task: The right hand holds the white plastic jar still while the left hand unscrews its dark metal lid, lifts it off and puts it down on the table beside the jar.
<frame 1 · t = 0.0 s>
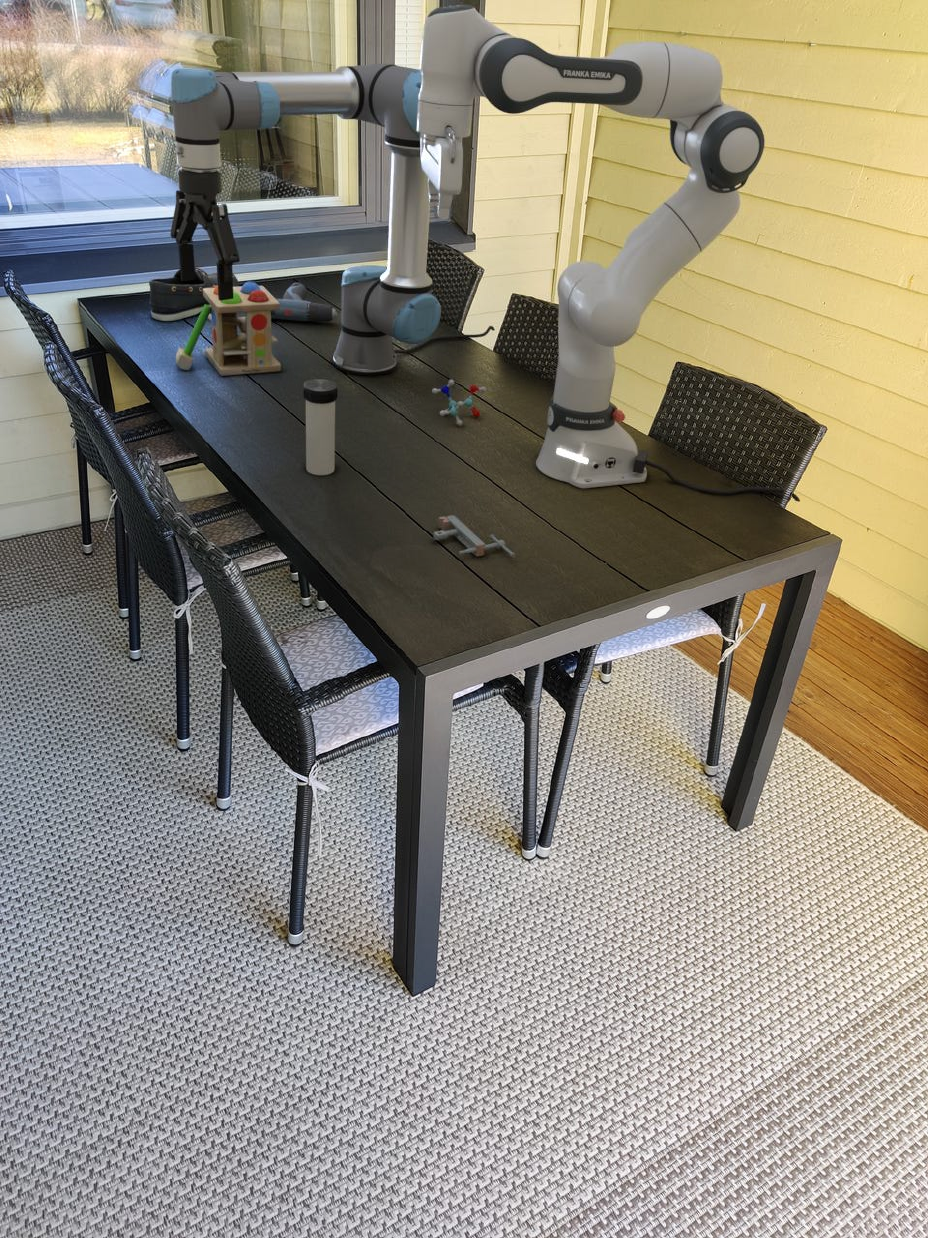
left hand: (206, 289, 186), 28 cm above the table, tool pointing down, fingers open, 13 cm apart
right hand: (438, 211, 167), 48 cm above the table, tool pointing down, fingers open, 8 cm apart
clamp: (468, 546, 170), on the table
lid: (320, 386, 180), point 17 cm above the table, screwed on, not yet turned
molecular model: (455, 417, 216), on the table
jar: (320, 469, 190), on the table
pounding bench toy: (225, 365, 230), on the table
boat shoe: (196, 305, 265), on the table
power drill: (305, 313, 267), on the table
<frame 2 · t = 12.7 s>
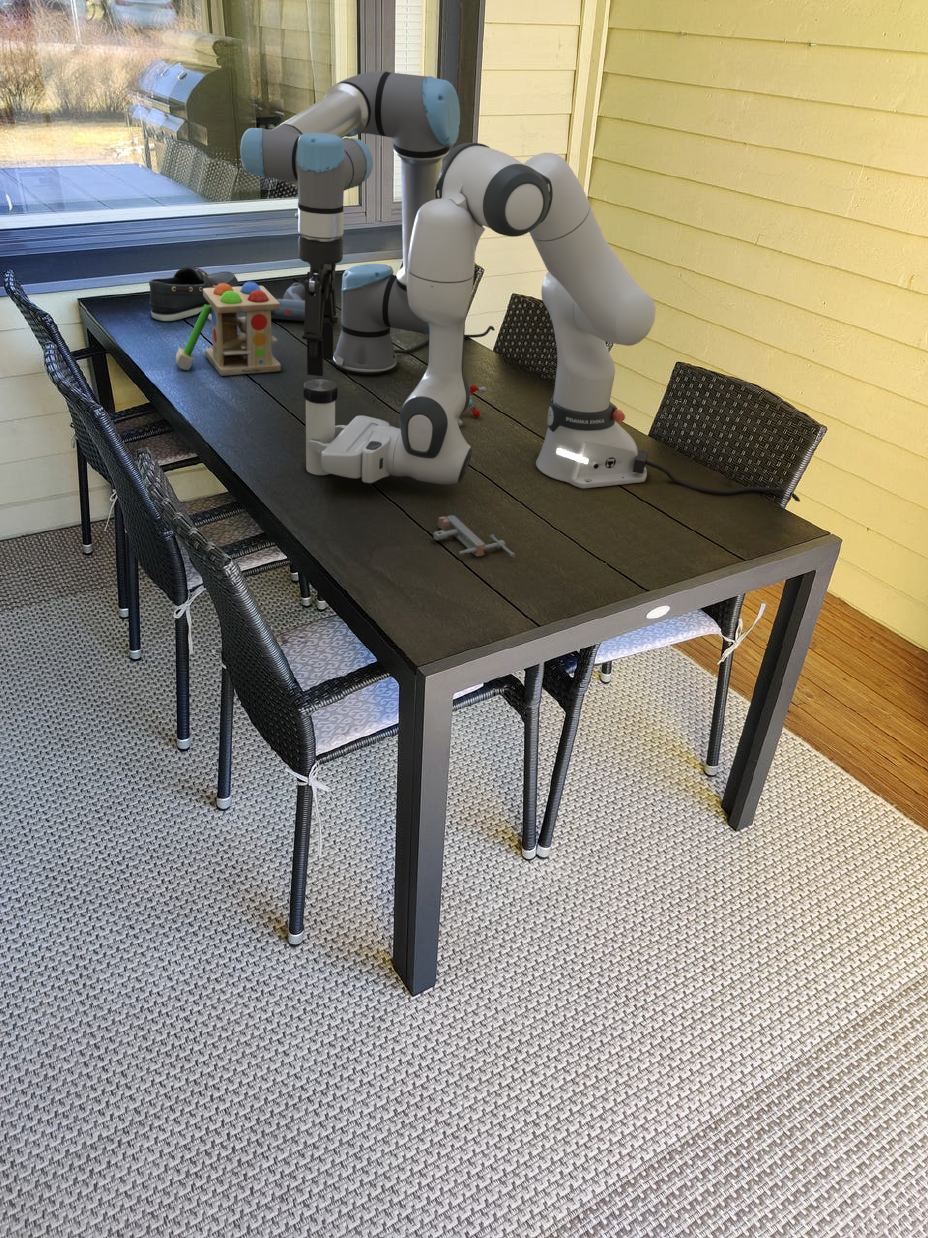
left hand: (320, 366, 178), 21 cm above the table, tool pointing down, fingers open, 8 cm apart
right hand: (315, 436, 186), 7 cm above the table, tool horizontal, fingers closed on jar, 5 cm apart
jar: (320, 468, 190), on the table, touching right hand
everything else where it was.
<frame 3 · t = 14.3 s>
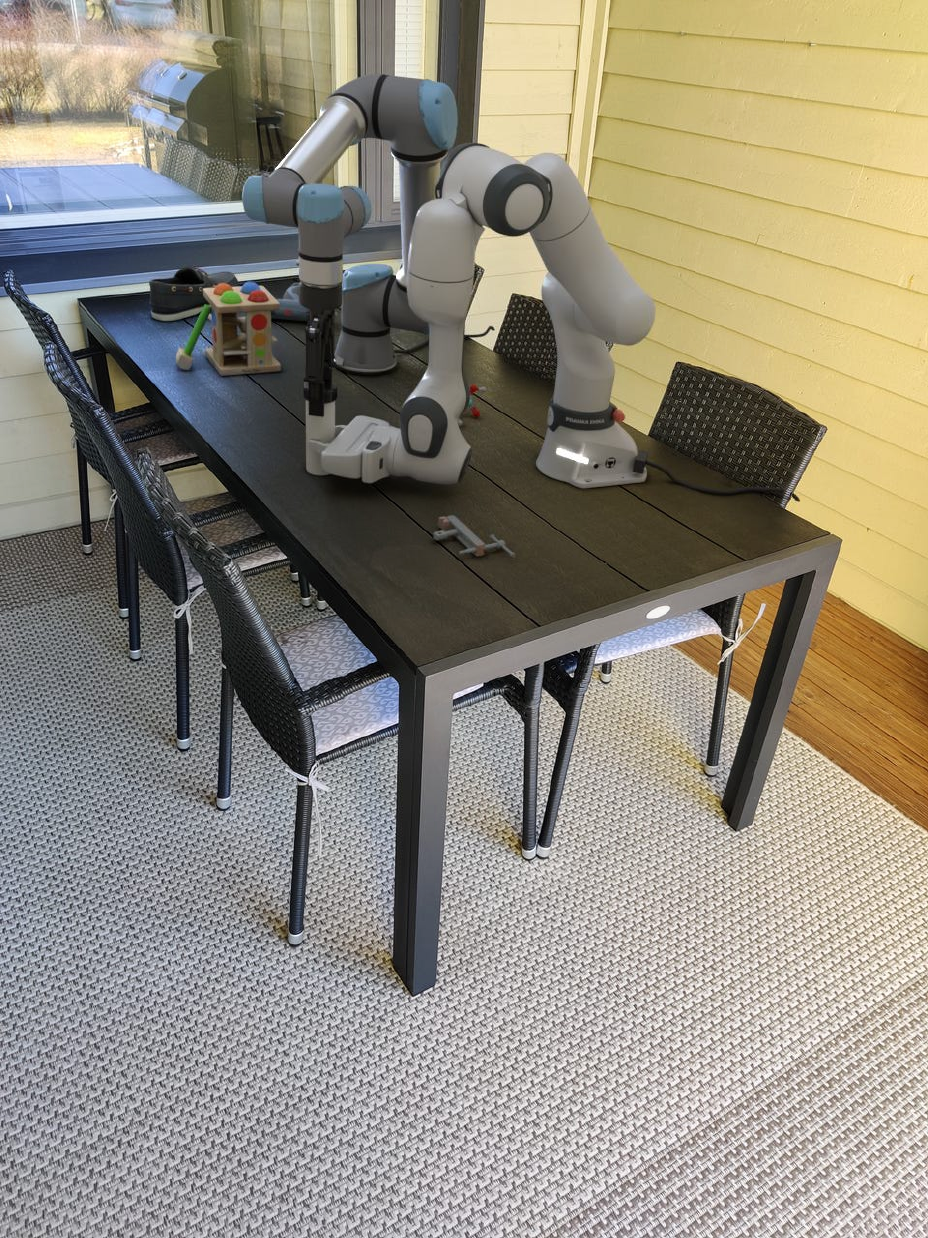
left hand: (320, 408, 183), 12 cm above the table, tool pointing down, fingers closed on lid, 6 cm apart
right hand: (315, 436, 186), 7 cm above the table, tool horizontal, fingers closed on jar, 5 cm apart
lid: (320, 386, 180), point 17 cm above the table, screwed on, not yet turned, touching left hand
jar: (320, 468, 190), on the table, touching right hand
everything else where it was.
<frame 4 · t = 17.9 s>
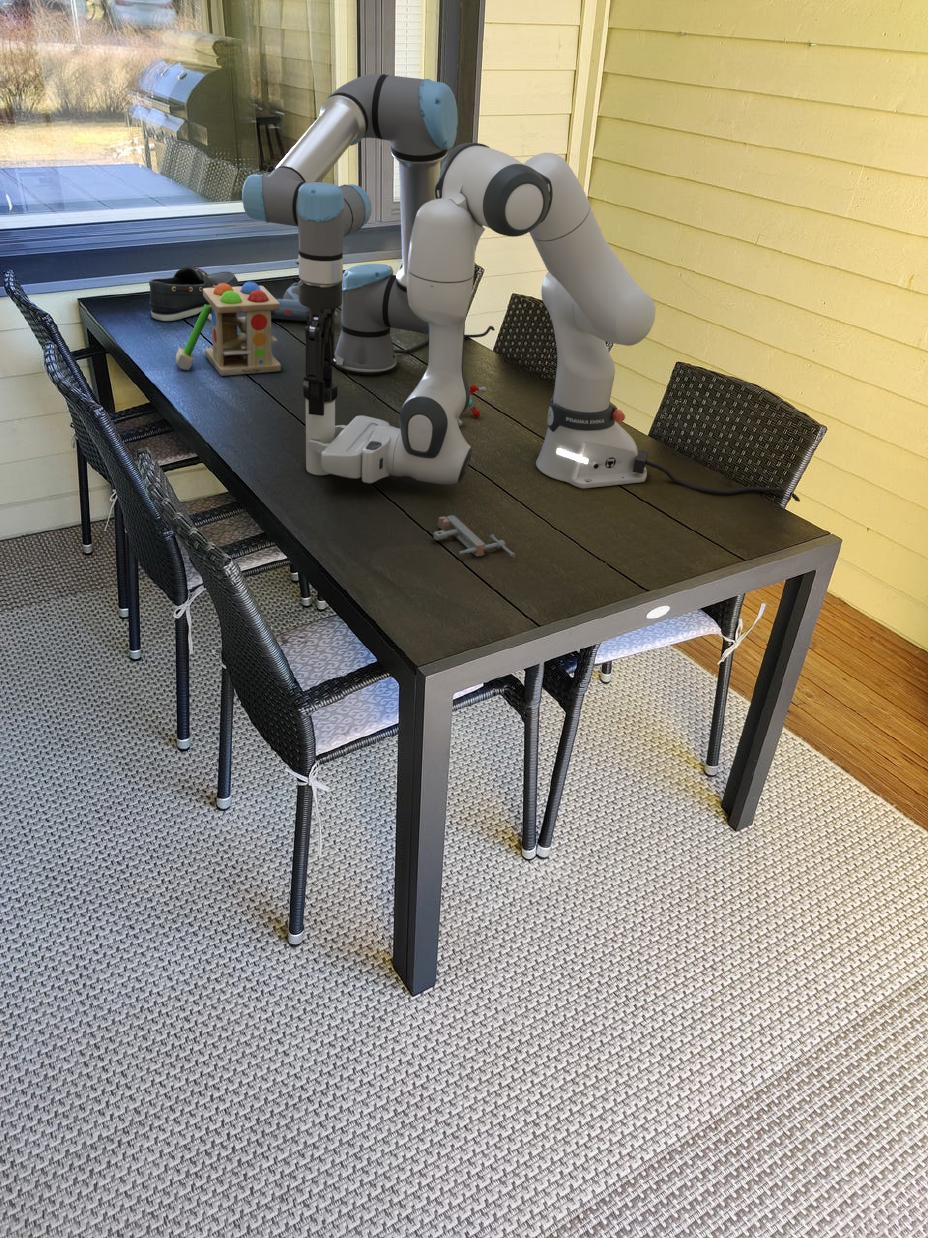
left hand: (320, 407, 183), 13 cm above the table, tool pointing down, fingers closed on lid, 6 cm apart
right hand: (315, 436, 186), 7 cm above the table, tool horizontal, fingers closed on jar, 5 cm apart
lid: (320, 385, 180), point 17 cm above the table, turned 132° so far, risen 0.2 cm, still on its thread, touching left hand
jar: (320, 468, 190), on the table, touching right hand
everything else where it was.
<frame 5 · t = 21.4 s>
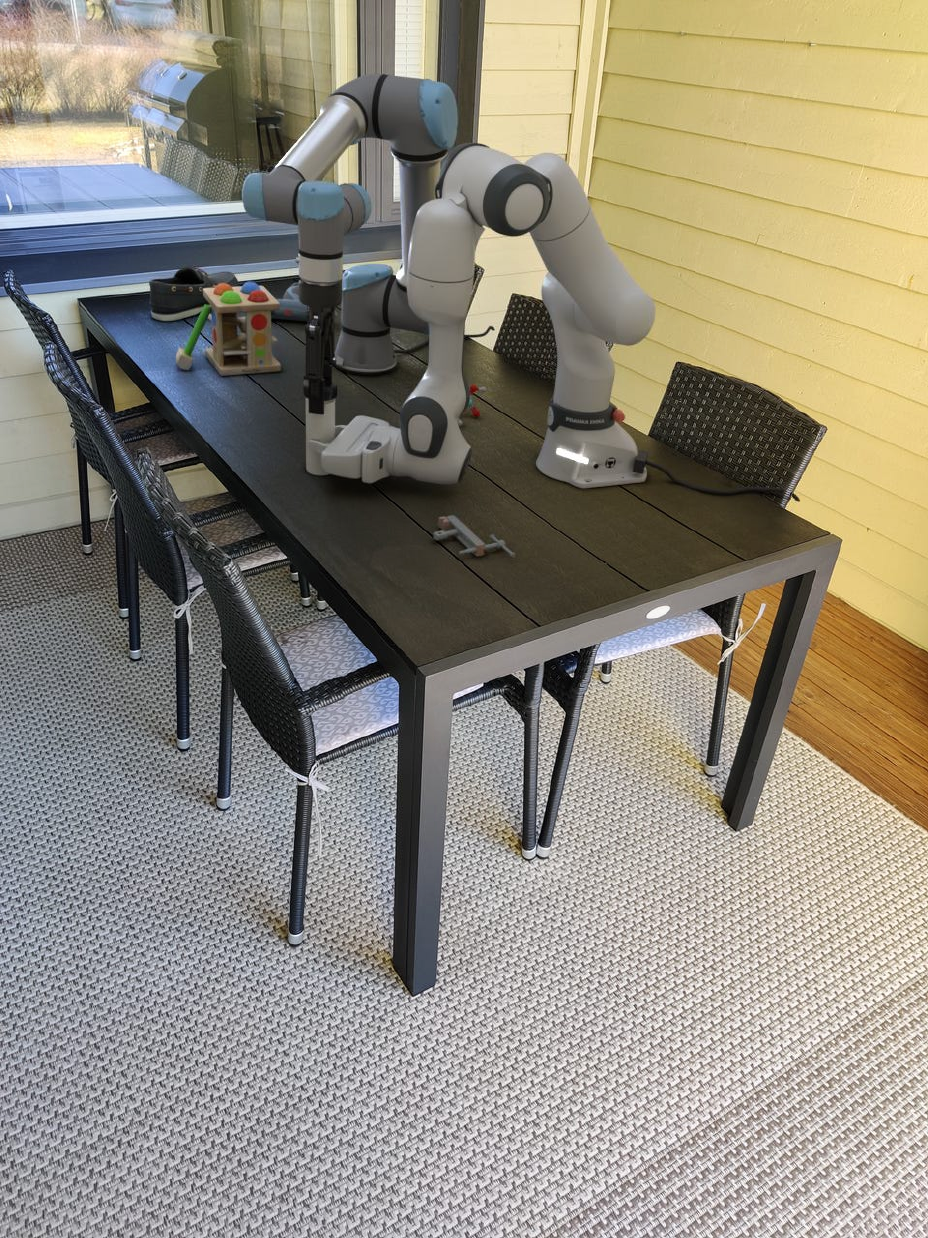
left hand: (320, 405, 182), 13 cm above the table, tool pointing down, fingers closed on lid, 6 cm apart
right hand: (315, 436, 186), 7 cm above the table, tool horizontal, fingers closed on jar, 5 cm apart
lid: (320, 384, 180), point 17 cm above the table, turned 264° so far, risen 0.4 cm, still on its thread, touching left hand
jar: (320, 468, 190), on the table, touching right hand
everything else where it was.
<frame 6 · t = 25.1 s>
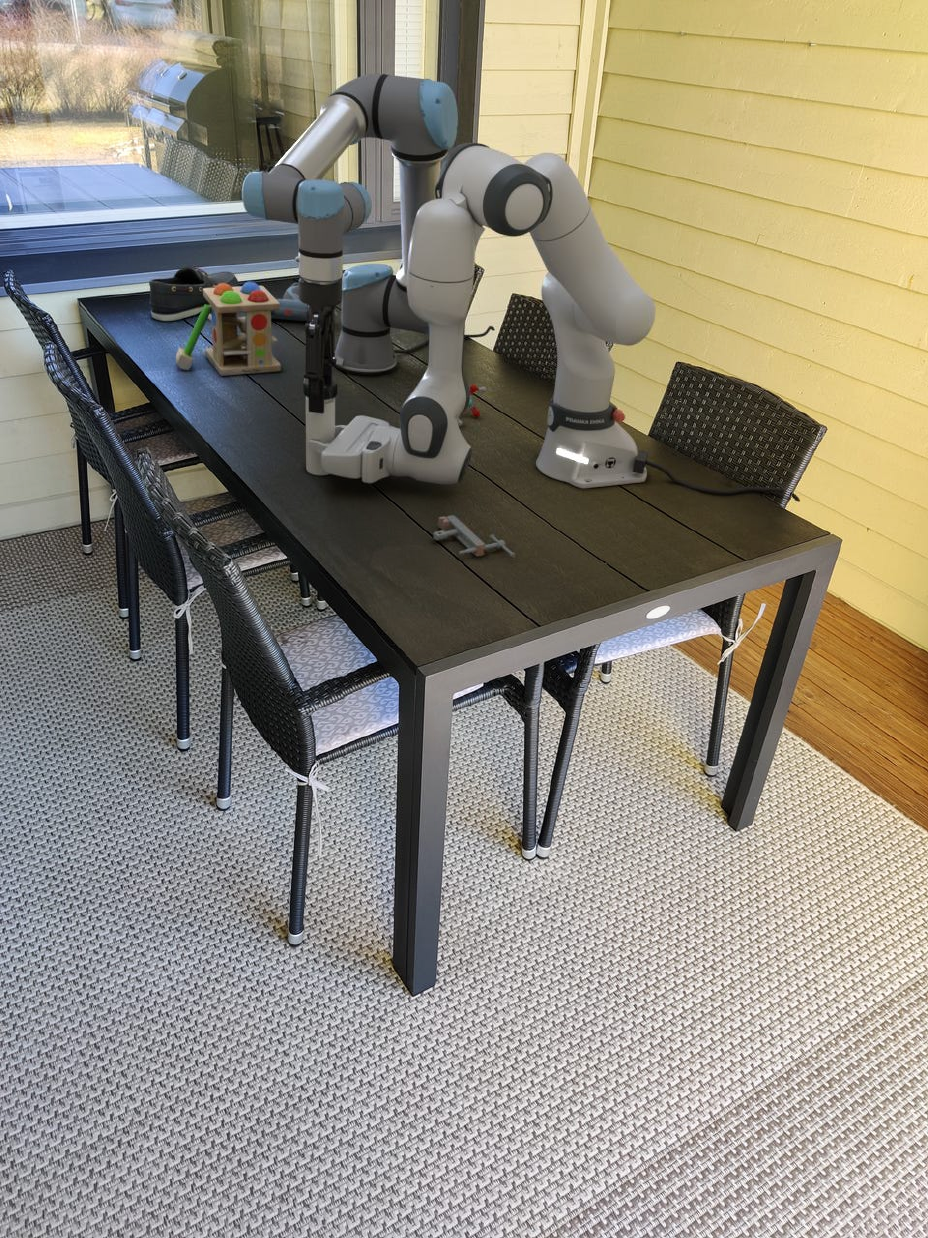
left hand: (320, 404, 182), 13 cm above the table, tool pointing down, fingers closed on lid, 6 cm apart
right hand: (315, 436, 186), 7 cm above the table, tool horizontal, fingers closed on jar, 5 cm apart
lid: (320, 383, 180), point 17 cm above the table, turned 396° so far, risen 0.7 cm, still on its thread, touching left hand
jar: (320, 468, 190), on the table, touching right hand
everything else where it was.
when the left hand's fingers open (0 cm above the table, at t = 31.6 s): lid drops 2 cm, point 2 cm above the table.
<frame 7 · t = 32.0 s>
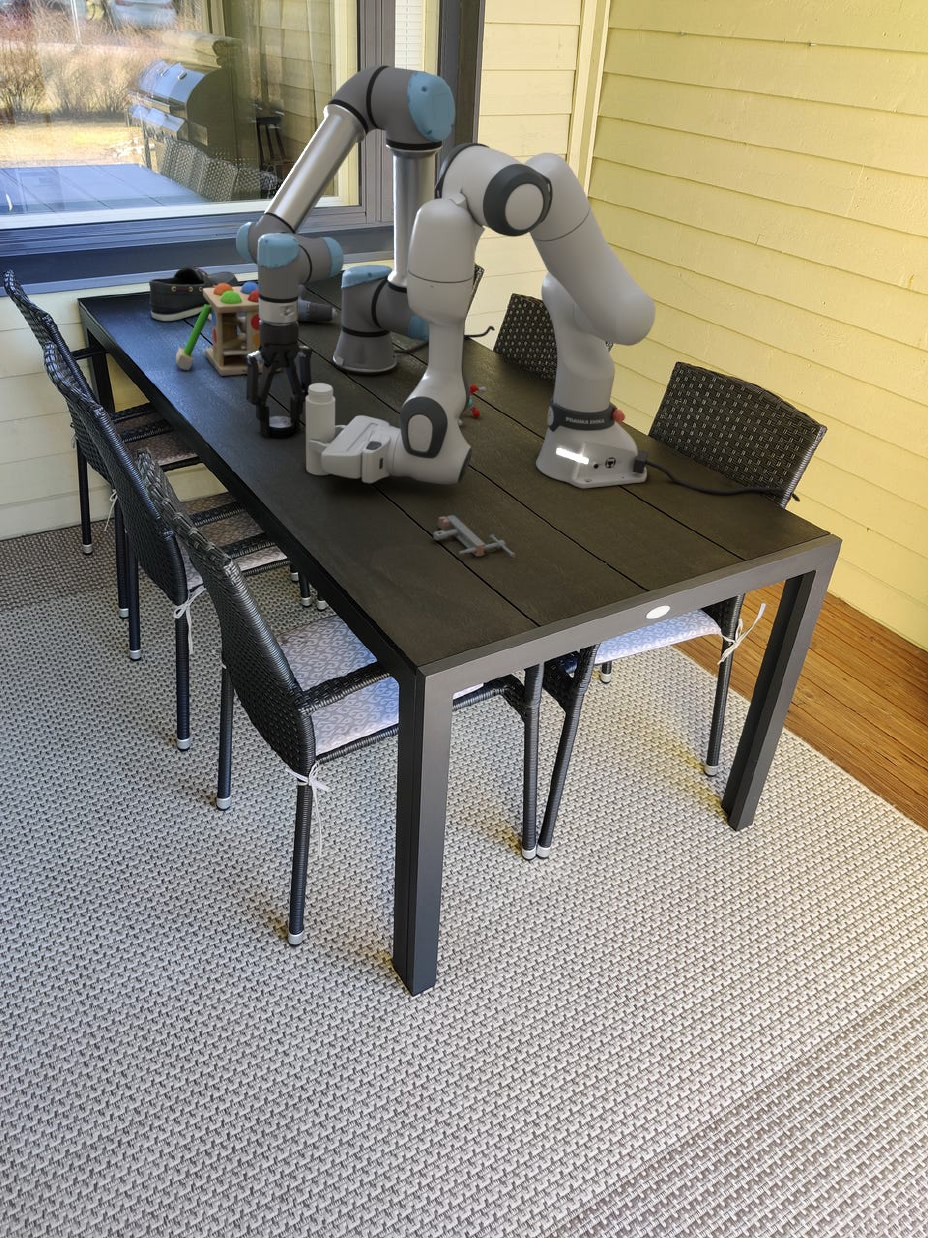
left hand: (280, 431, 202), 0 cm above the table, tool pointing down, fingers open, 6 cm apart
right hand: (315, 436, 186), 7 cm above the table, tool horizontal, fingers closed on jar, 5 cm apart
lid: (279, 423, 201), point 2 cm above the table, off its thread
jar: (320, 468, 190), on the table, touching right hand
everything else where it was.
when the right hand's fingers open (7 cm above the table, at t = 33.2 s): jar stays where it is, on the table.
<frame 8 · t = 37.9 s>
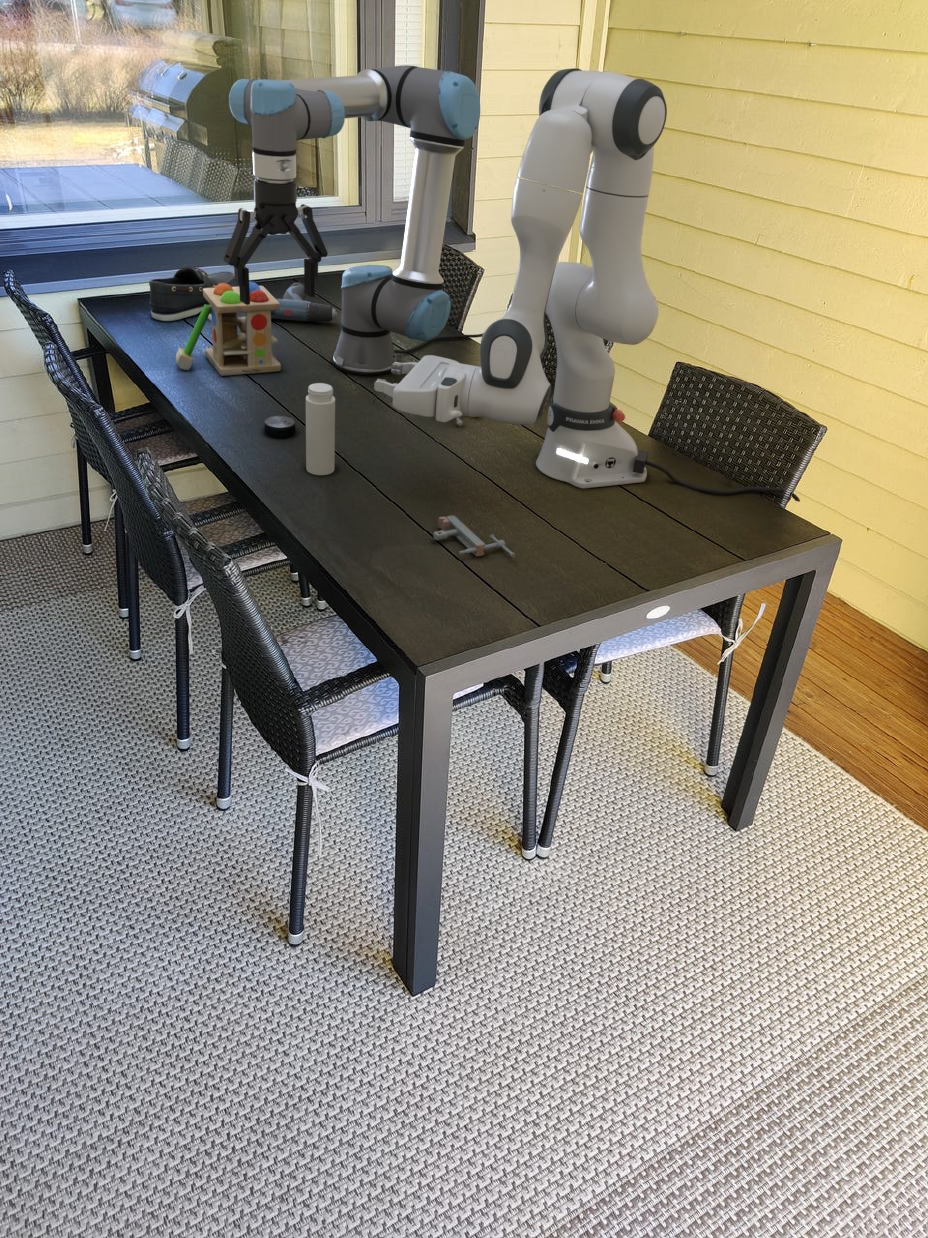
left hand: (277, 298, 187), 27 cm above the table, tool pointing down, fingers open, 13 cm apart
right hand: (384, 375, 176), 21 cm above the table, tool horizontal, fingers open, 8 cm apart
jar: (320, 468, 190), on the table
everything else where it was.
at the end: lid came off its thread; lid point 2.0 cm above the table; the left hand is holding nothing; the right hand is holding nothing; jar tilted 0°; jar moved 0.0 cm from its start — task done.
